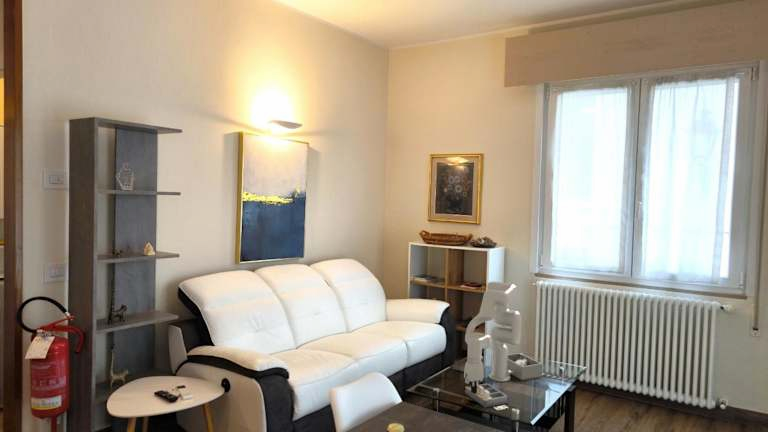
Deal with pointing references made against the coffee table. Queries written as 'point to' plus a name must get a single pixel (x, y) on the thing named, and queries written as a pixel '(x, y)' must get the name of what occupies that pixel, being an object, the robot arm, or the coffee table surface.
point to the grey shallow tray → (495, 395)
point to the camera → (522, 361)
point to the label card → (500, 407)
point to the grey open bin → (524, 367)
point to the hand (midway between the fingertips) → (473, 392)
